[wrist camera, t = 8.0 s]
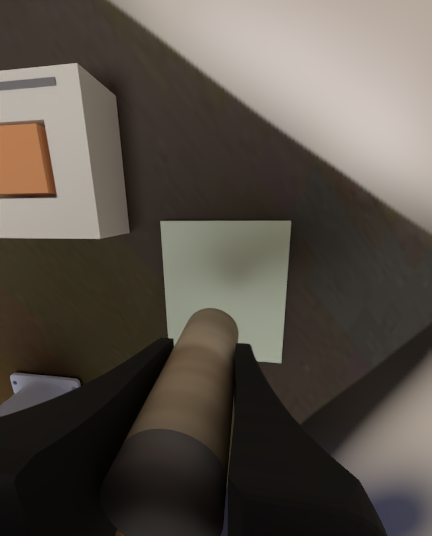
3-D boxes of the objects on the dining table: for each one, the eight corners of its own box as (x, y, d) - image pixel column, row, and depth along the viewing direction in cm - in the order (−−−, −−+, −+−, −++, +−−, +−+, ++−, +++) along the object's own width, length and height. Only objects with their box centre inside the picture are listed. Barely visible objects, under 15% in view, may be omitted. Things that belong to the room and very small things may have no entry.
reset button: (78, 195, 18) (48, 192, 15) (32, 195, 18) (-6, 193, 15) (70, 137, 17) (35, 123, 14) (21, 139, 17) (-21, 126, 14)
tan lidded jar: (239, 356, 13) (226, 563, 6) (188, 354, 14) (111, 544, 6) (237, 307, 12) (219, 470, 5) (183, 307, 13) (88, 456, 5)
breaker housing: (129, 232, 19) (99, 238, 16) (25, 232, 21) (-28, 237, 17) (115, 96, 17) (75, 62, 13) (-2, 105, 18) (-71, 76, 14)
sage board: (280, 358, 20) (281, 363, 20) (171, 350, 22) (169, 354, 21) (289, 220, 17) (291, 220, 17) (163, 220, 19) (160, 221, 18)
